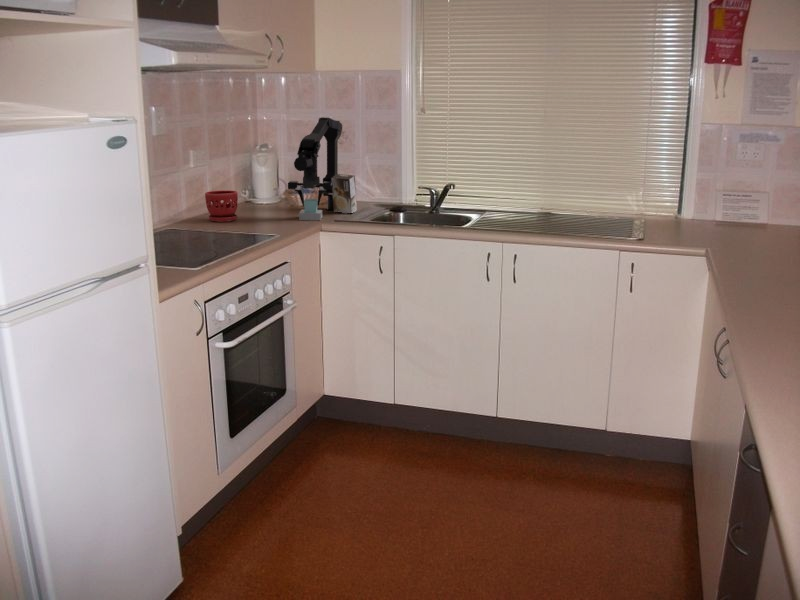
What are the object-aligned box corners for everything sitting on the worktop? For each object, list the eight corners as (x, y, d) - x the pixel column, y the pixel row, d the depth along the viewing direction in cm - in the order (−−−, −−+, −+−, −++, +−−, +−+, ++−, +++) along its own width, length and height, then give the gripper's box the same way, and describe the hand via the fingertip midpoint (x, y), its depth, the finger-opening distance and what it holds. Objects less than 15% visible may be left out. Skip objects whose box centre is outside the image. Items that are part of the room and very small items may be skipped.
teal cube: (305, 210, 343) (305, 198, 342) (317, 210, 343) (317, 199, 342) (304, 212, 338) (304, 200, 337) (316, 212, 339) (316, 200, 337)
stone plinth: (301, 216, 346) (301, 209, 345) (322, 216, 346) (322, 210, 345) (299, 220, 337) (299, 213, 336) (320, 220, 337) (320, 213, 337)
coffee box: (357, 209, 360) (355, 175, 353) (352, 214, 354) (350, 179, 347) (338, 208, 363) (336, 173, 356) (333, 212, 357) (330, 177, 350)
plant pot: (242, 218, 339) (241, 189, 336) (233, 223, 327) (231, 194, 323) (212, 217, 340) (211, 188, 337) (201, 222, 328) (200, 193, 325)
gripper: (285, 170, 328) (286, 208, 332) (331, 171, 328) (331, 209, 333) (289, 167, 339) (289, 204, 343) (333, 168, 339) (333, 204, 343)
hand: (310, 205), depth 340 cm, fingers open, 6 cm apart
